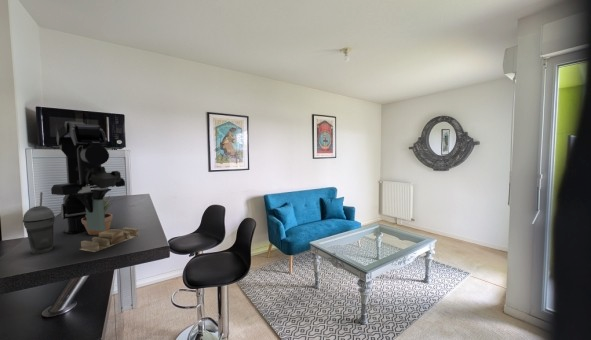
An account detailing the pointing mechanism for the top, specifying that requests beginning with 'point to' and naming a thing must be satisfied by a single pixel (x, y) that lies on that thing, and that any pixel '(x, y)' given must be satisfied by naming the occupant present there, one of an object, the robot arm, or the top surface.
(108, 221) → the potted plant
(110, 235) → the pine offcut
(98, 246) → the birch rack
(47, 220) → the beverage cup
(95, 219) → the teal rectangular block
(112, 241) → the walnut offcut
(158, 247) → the top surface
